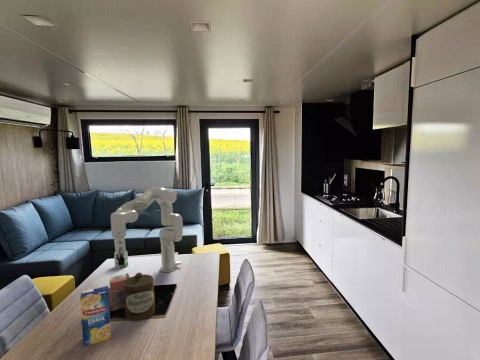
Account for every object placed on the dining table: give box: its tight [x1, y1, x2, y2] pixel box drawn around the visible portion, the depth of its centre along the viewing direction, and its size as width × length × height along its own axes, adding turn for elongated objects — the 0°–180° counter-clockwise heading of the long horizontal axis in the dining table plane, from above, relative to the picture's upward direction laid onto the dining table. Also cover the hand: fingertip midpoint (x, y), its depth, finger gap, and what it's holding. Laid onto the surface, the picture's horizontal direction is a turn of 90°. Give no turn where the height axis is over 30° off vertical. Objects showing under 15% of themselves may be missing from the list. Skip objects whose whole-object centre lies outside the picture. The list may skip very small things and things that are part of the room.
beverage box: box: [79, 285, 112, 347], centre depth 118 cm, size 7×11×22 cm, turn 117°
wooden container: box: [124, 272, 156, 322], centre depth 138 cm, size 15×15×22 cm
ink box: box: [113, 250, 129, 269], centre depth 202 cm, size 9×5×12 cm, turn 84°
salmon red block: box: [109, 276, 127, 302], centre depth 150 cm, size 9×4×11 cm, turn 121°
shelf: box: [109, 272, 130, 312], centre depth 153 cm, size 12×23×11 cm, turn 30°
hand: (120, 262), depth 152 cm, fingers open, 9 cm apart
